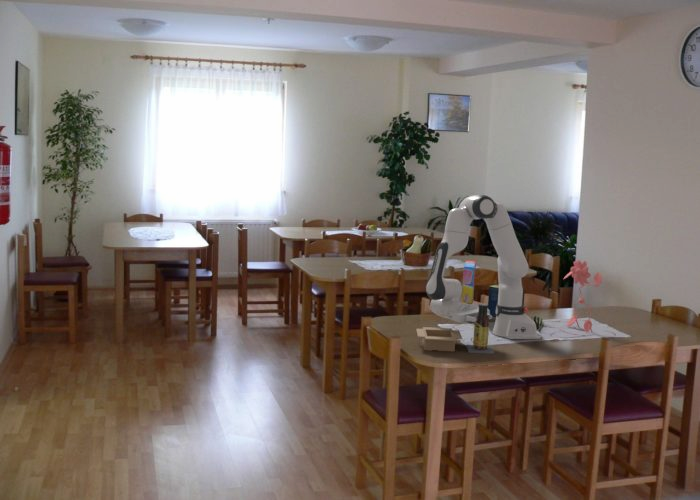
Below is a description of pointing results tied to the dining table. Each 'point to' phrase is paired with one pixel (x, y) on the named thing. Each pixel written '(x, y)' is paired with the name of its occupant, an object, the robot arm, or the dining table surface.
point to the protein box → (496, 299)
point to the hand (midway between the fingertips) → (483, 318)
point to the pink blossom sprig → (581, 274)
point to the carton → (439, 338)
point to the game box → (468, 281)
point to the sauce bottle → (481, 328)
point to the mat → (484, 351)
